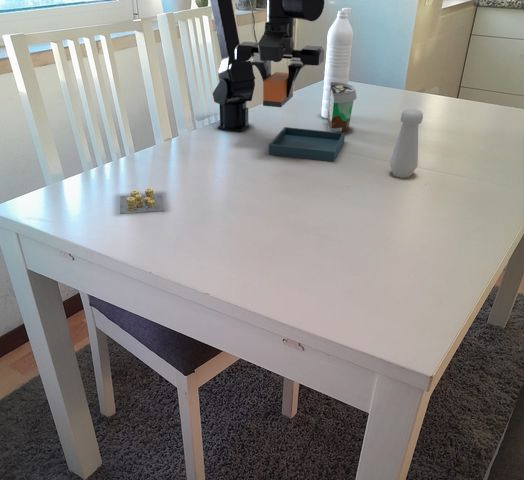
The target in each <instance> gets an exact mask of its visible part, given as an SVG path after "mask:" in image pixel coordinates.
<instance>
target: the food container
mask: <svg viewBox="0 0 524 480" xmlns="http://www.w3.org/2000/svg"><path fill="white" fill-rule="evenodd" d="M357 98H358V97H357V91H356V86H354V85H352V84H349V83H348V84H344V83H337V82H331V85H330V99H329V112H328V119H327V127H328V131H329V132H338V133H345V134H347V133H348V131H349V128H350V122H351V117H352V111H353V106H354V101H355V100H357Z"/></svg>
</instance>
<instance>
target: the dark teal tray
mask: <svg viewBox="0 0 524 480" xmlns="http://www.w3.org/2000/svg"><path fill="white" fill-rule="evenodd" d="M345 139H346V133H338V132H329V130H327V131H326V130H317V129H307V128H298V127H287V126H284V127H283V128H282V129H281V130H280V131H279V132H278V134H277V135H276V136H275V137H274V138H273V139H272V140H271V142H270V143H269V144H268V155H269V156H271V155H272V156H279V157H280V156H281V157H290V158H298V159H307V160H314V161H323V162H333V163H334V162H335V160H336V158H337V156H338V154H339V152H340V151H341V149H342V148H343V145H344V144H345Z"/></svg>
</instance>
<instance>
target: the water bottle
mask: <svg viewBox="0 0 524 480" xmlns="http://www.w3.org/2000/svg"><path fill="white" fill-rule="evenodd" d="M348 14H352V7H342V8H341V10H338V11H337V14H336V18H335V20H334V21H333V22H332V23H331V26H330V27H329V29H328V31H327V41H326V55H325V66H324V78H323V91H322V101H321V105H322V106H321V117H322V118H323V119H326V120H328V112H329V99H330V85H331V82H337V83H344V84H349V80H350V72H351V71H350V70H351V62H352V61H351V60H352V59H351V58H352V51H353V43H354V42H353V41H354V29H353V27H352V26H351V23H350V21H349V19H348V16H349V15H348Z"/></svg>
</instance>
